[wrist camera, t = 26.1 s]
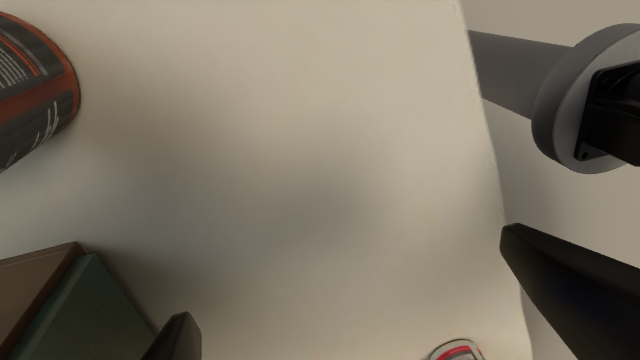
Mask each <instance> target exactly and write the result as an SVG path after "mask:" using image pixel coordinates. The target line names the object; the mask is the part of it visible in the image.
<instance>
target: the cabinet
mask: <svg viewBox="0 0 640 360" xmlns="http://www.w3.org/2000/svg"><path fill="white" fill-rule="evenodd" d="M85 255H86V254H85V253H84V251H83V250H82V248H81V247H80V246H79V244H78V243H77V242H76V241H75V242H71V243H67V244H63V245H59V246H55V247H51V248H47V249H43V250H39V251H35V252H31V253H27V254H23V255H19V256H15V257H11V258H7V259H3V260H0V360H6V359H7V357H8V356H9V354H10V353H11V351H12V350H13V348H14V347H15V345H16V344H17V343H18V341H19V340H20V338H21V337H22V335H23V334H24V332H25V331H26V329H27V328H28V326H29V325H30V323H31V322H32V321H33V319H34V318H35V316H36V315H37V313H38V312H39V310H40V309H41V307H42V306H43V304H44V303H45V302H46V300H47V299H48V297H49V296H50V294H51V293H52V291H53V290H54V288H55V287H56V285H57V284H58V282H59V281H60V280H61V278H62V277H63V275H64V274H65V272H66V271H67V269H68V268H69V266H70V265H71V263H72V262H73V261H74V259H75V258H77V257H81V256H85Z"/></svg>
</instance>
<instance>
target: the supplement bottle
mask: <svg viewBox="0 0 640 360" xmlns="http://www.w3.org/2000/svg"><path fill="white" fill-rule="evenodd" d="M78 104H79V87H78V82H77V79H76V76H75V72H74V70H73V68H72V66H71V64H70V62H69V60H68V59H67V58H66V56H65V55H64V54H63V52H62V51H61V50H60V49H59V48H58V47H57V46H56V44H55V43H54V42H53V41H51V40H50V39H49V38H48V37H47V36H46V35H45V34H43V33H42V32H41V31H39V30H38V29H37V28H35V27H34V26H32V25H30V24H28V23H27V22H25V21H23V20H21V19H19V18H17V17H15V16H12V15H9V14H6V13H3V12H0V173H2V172H3V171H5V170H6V169H8V168H9V167H10V166H12V165H13V164H14V163H16V162H17V161H19V160H20V159H21V158H23V157H24V156H26V155H27V154H28V153H30V152H31V151H33V150H34V149H35V148H37V147H38V146H40V145H41V144H43V143H44V142H45V141H47V140H48V139H49V138H51V137H52V136H54V135H55V134H56V133H58V132H59V131H60V130H61V129H62V128H63V127H65V126H66V125H67V124H68V123H69V122H70V121H71V119H72V118H73V116H74V115H75V113H76V110H77V108H78Z"/></svg>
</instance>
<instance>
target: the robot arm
mask: <svg viewBox="0 0 640 360" xmlns="http://www.w3.org/2000/svg"><path fill="white" fill-rule="evenodd" d="M606 155H611V156H613V157H615V158H618V159H620V160H622V161H624V162H626V163H629V164H631V165H633V166H636V167H638V166H639V167H640V60H635V61H631V62H627V63H623V64H619V65H615V66H611V67H607V68H603V69H599V70H597V71H596V72H595V73H594V74H593V75H592V78H591V81H590V85H589V90H588V94H587V98H586V103H585V107H584V111H583V115H582V120H581V124H580V128H579V133H578V137H577V141H576V146H575V150H574V154H573V157H574V159H576V160H578V161H580V162H583V161H587V160H591V159H595V158H599V157H602V156H606ZM500 252H501V255H502V256H503V258H504V259H505V261H506V263H507V264H508V266H509V267H510V269H511V270H512V272H513V273H514V275H515V276H516V278H517V280H518V281H519V283H520V284H521V286H522V287H523V289H524V290H525V292H526V293H527V295H528V296H529V298H530V299H531V301H532V302H533V304H534V305H535V306H536V307H537V309H538V310H539V311H540V313H541V314H542V315H543V316H544V318H545V319H546V320H547V321H548V323H549V324H550V325H551V326H552V327H553V329H554V330H555V331H556V333H557V334H558V335H559V336H560V338H561V339H562V340H563V341H564V343H565V344H566V345H567V346H568V348H569V349H570V350H571V351H572V353H573V354H574V355H575V356H576V358H577V359H578V360H640V269H639V268H636V267H634V266H631V265H629V264H626V263H623V262H620V261H618V260H615V259H613V258H610V257H607V256H605V255H602V254H600V253H597V252H594V251H592V250H589V249H586V248H584V247H581V246H578V245H576V244H573V243H571V242H568V241H565V240H563V239H560V238H557V237H555V236H552V235H549V234H547V233H544V232H542V231H539V230H536V229H534V228H531V227H528V226H526V225H523V224H520V223H513V224H509V225H506V226H504V227H503V228H502V231H501V239H500ZM140 360H202V336H201V331H200V328H199V327H198V325H197V323H196V322H195V320H194V318H193V317H192V315H191V314H190V313H189V312H188V311H187V312H186V311H185V312H182V313H178V314H175V315H173V316H172V317H171V318H170V319H169V320H168V322H167V323H166V324H165V326H164V327H163V328H162V330H161V331H160V333H159V334H158V335H157V337H156V338H155V339H154V341H153V342H152V343H151V345H150V346H149V348H148V349H147V350H146V352H145V353H144V354H143V356H142V357H141V358H140Z"/></svg>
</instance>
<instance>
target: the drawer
mask: <svg viewBox="0 0 640 360" xmlns="http://www.w3.org/2000/svg"><path fill="white" fill-rule="evenodd" d="M155 338H156V337H155V336H154V334H153V333H152V332H151V330H150V329H149V328H148V326H147V325H146V323H145V322H144V321H143V319H142V318H141V316H140V315H139V314H138V312H137V311H136V310H135V308H134V307H133V305H132V304H131V303H130V301H129V300H128V299H127V297H126V296H125V294H124V293H123V292H122V290H121V289H120V287H119V286H118V285H117V283H116V282H115V281H114V279H113V278H112V276H111V275H110V274H109V272H108V271H107V269H106V268H105V267H104V265H103V264H102V263H101V261H100V260H99V258H98V257H97V256H96V254H95V253H93V254H89V255H85V256H81V257H77V258H75V259H74V261H73V262H72V263H71V265H70V266H69V268H68V269H67V271H66V272H65V274H64V275H63V277H62V278H61V280H60V281H59V282H58V284H57V285H56V287H55V288H54V290H53V291H52V293H51V294H50V296H49V297H48V299H47V300H46V302H45V303H44V304H43V306H42V307H41V309H40V310H39V312H38V313H37V315H36V316H35V318H34V319H33V321H32V322H31V323H30V325H29V326H28V328H27V329H26V331H25V332H24V334H23V335H22V337H21V338H20V340H19V341H18V343H17V344H16V345H15V347H14V348H13V350H12V351H11V353H10V354H9V356H8V357H7V359H6V360H140V358H141V357H142V356H143V354H144V353H145V352H146V350H147V349H148V348H149V346H150V345H151V343H152V342H153V341H154V339H155Z"/></svg>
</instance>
